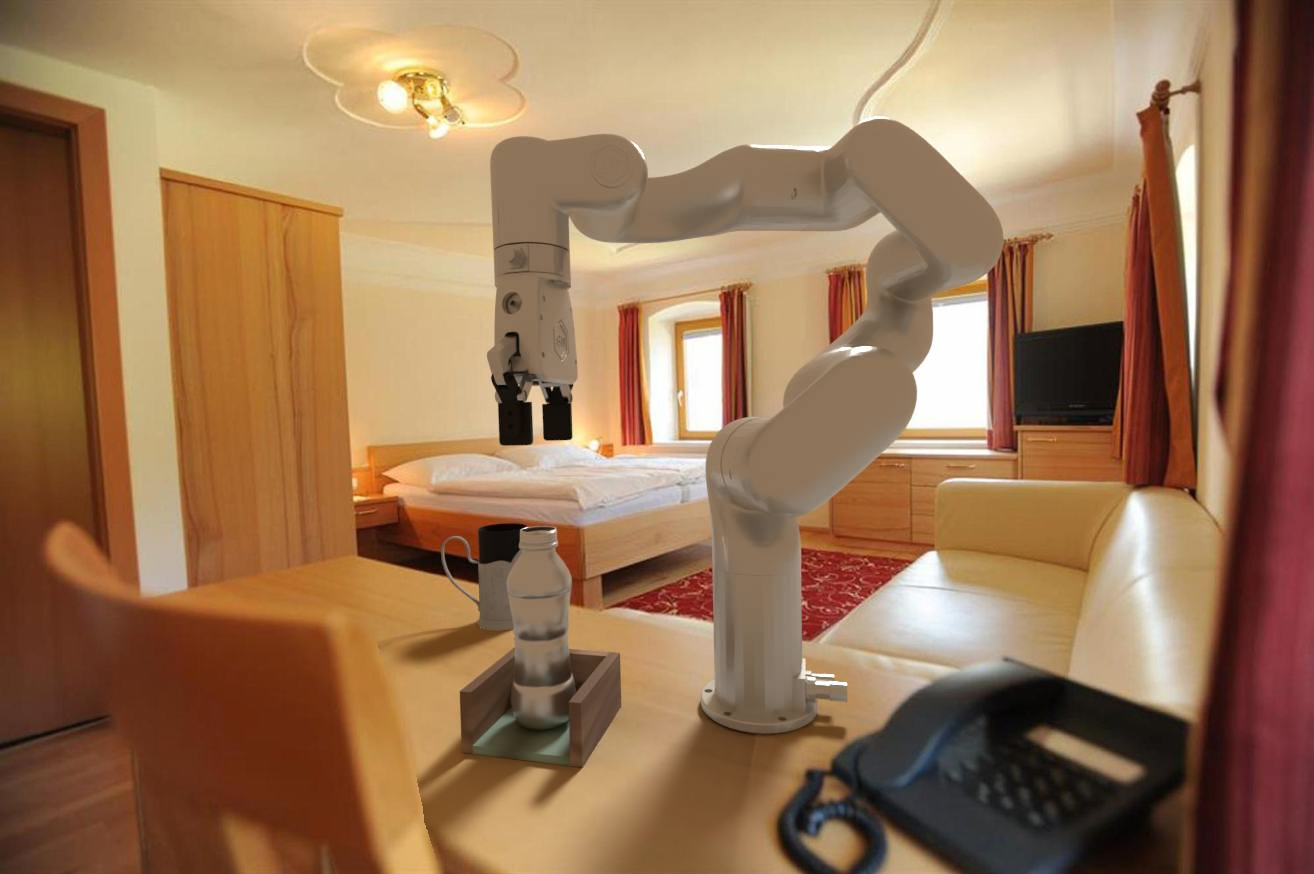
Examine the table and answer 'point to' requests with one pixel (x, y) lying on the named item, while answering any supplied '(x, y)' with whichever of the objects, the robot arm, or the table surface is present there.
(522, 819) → the table surface
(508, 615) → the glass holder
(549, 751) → the u rest
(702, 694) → the robot arm
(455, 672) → the table surface
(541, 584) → the plastic bottle
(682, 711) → the table surface
